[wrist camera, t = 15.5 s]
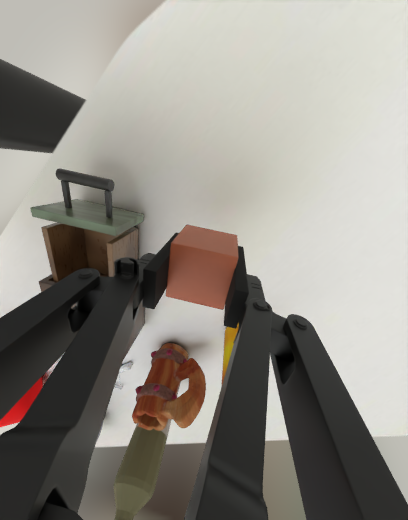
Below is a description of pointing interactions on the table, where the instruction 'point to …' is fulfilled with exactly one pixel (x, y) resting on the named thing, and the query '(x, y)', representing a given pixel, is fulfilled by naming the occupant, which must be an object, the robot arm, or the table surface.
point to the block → (202, 266)
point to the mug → (169, 390)
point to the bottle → (139, 471)
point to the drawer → (87, 229)
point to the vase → (22, 405)
